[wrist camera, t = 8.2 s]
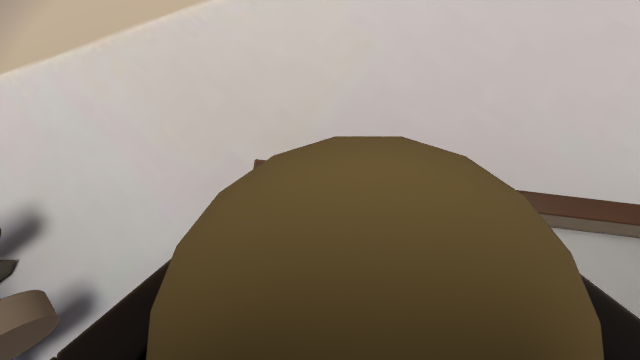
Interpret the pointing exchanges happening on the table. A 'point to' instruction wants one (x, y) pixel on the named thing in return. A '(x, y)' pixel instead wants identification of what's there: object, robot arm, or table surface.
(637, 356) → the robot arm
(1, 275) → the figurine character
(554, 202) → the frame
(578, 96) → the table surface
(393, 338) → the cork
